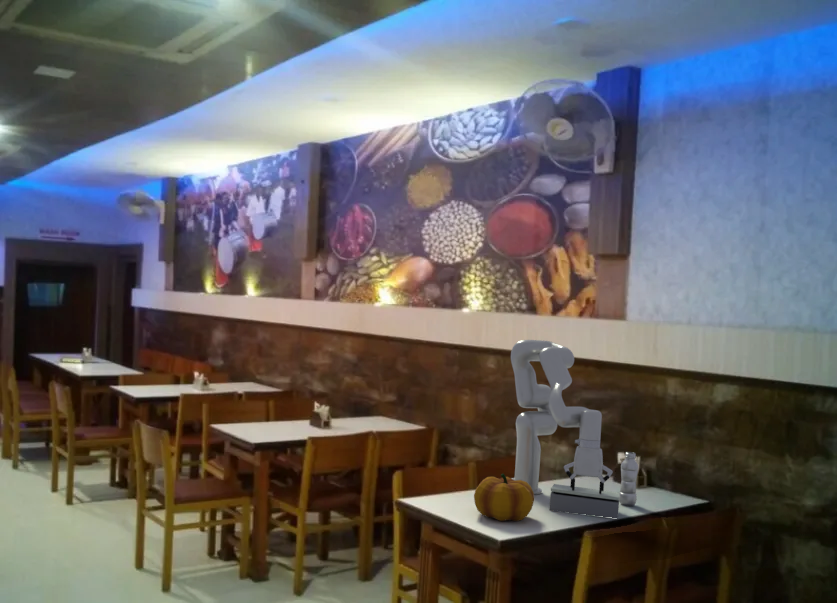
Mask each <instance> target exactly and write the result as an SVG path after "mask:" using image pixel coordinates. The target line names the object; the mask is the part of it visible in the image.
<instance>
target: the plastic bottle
mask: <svg viewBox="0 0 837 603" xmlns="http://www.w3.org/2000/svg"><path fill="white" fill-rule="evenodd" d="M638 471H639V464H638V462H637V460H636V452H634V451H633V452H632V451H625V455H624V460H623V461H622V462H621V464H620V476H621V477H620V478H621V479H620V480H621V482H620V491H619V493H620V496H619V504H621V505H624V506H635V505H636V504H637V501H638V498H637V485H636V484H637V479H638V478H637V477H638V473H639V472H638Z"/></svg>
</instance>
